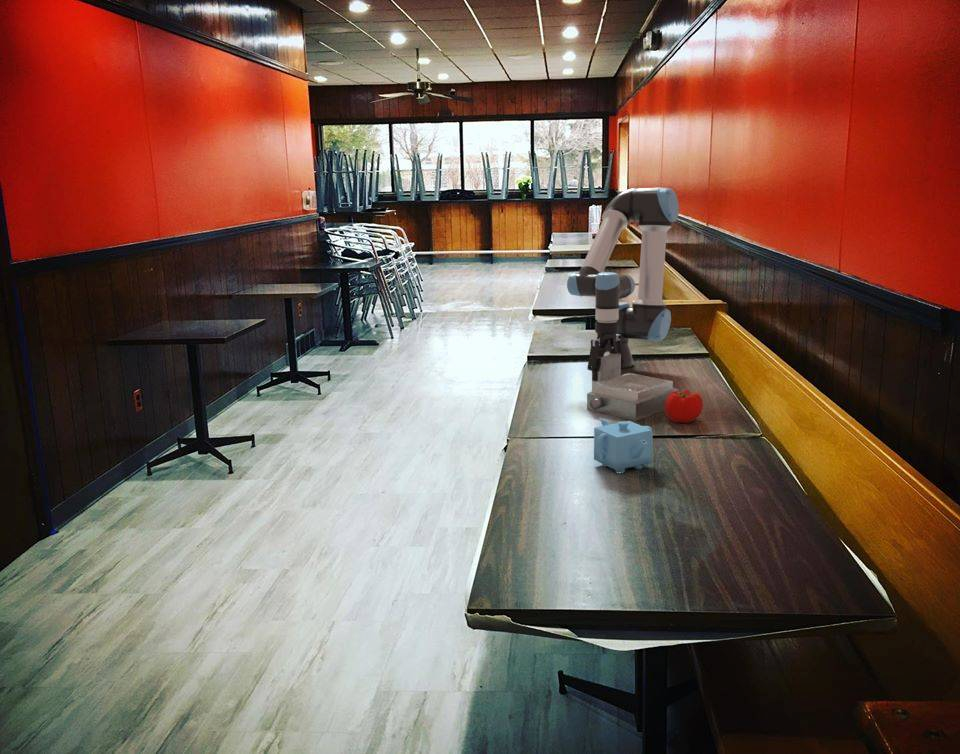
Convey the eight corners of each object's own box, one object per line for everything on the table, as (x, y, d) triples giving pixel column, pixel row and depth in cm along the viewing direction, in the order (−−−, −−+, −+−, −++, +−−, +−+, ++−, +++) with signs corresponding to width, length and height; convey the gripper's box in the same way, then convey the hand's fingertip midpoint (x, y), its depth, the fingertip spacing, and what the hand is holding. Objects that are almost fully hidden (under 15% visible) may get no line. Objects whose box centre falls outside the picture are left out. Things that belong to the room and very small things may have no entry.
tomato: (708, 419, 230) (709, 390, 228) (689, 428, 223) (690, 399, 221) (675, 413, 237) (676, 385, 235) (656, 421, 230) (657, 392, 228)
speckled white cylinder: (619, 386, 268) (620, 351, 265) (621, 394, 259) (622, 357, 256) (591, 386, 269) (591, 351, 266) (592, 394, 260) (592, 357, 257)
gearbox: (630, 394, 259) (630, 371, 257) (677, 404, 246) (678, 380, 244) (580, 411, 242) (580, 386, 240) (629, 423, 229) (629, 397, 227)
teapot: (618, 483, 185) (619, 437, 183) (574, 460, 201) (574, 417, 198) (671, 470, 192) (672, 425, 190) (625, 449, 208) (626, 407, 205)
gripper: (618, 314, 268) (617, 379, 274) (575, 324, 254) (575, 392, 259) (636, 317, 263) (635, 382, 269) (594, 326, 248) (594, 396, 254)
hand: (606, 387), depth 264 cm, fingers closed on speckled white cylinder, 9 cm apart
